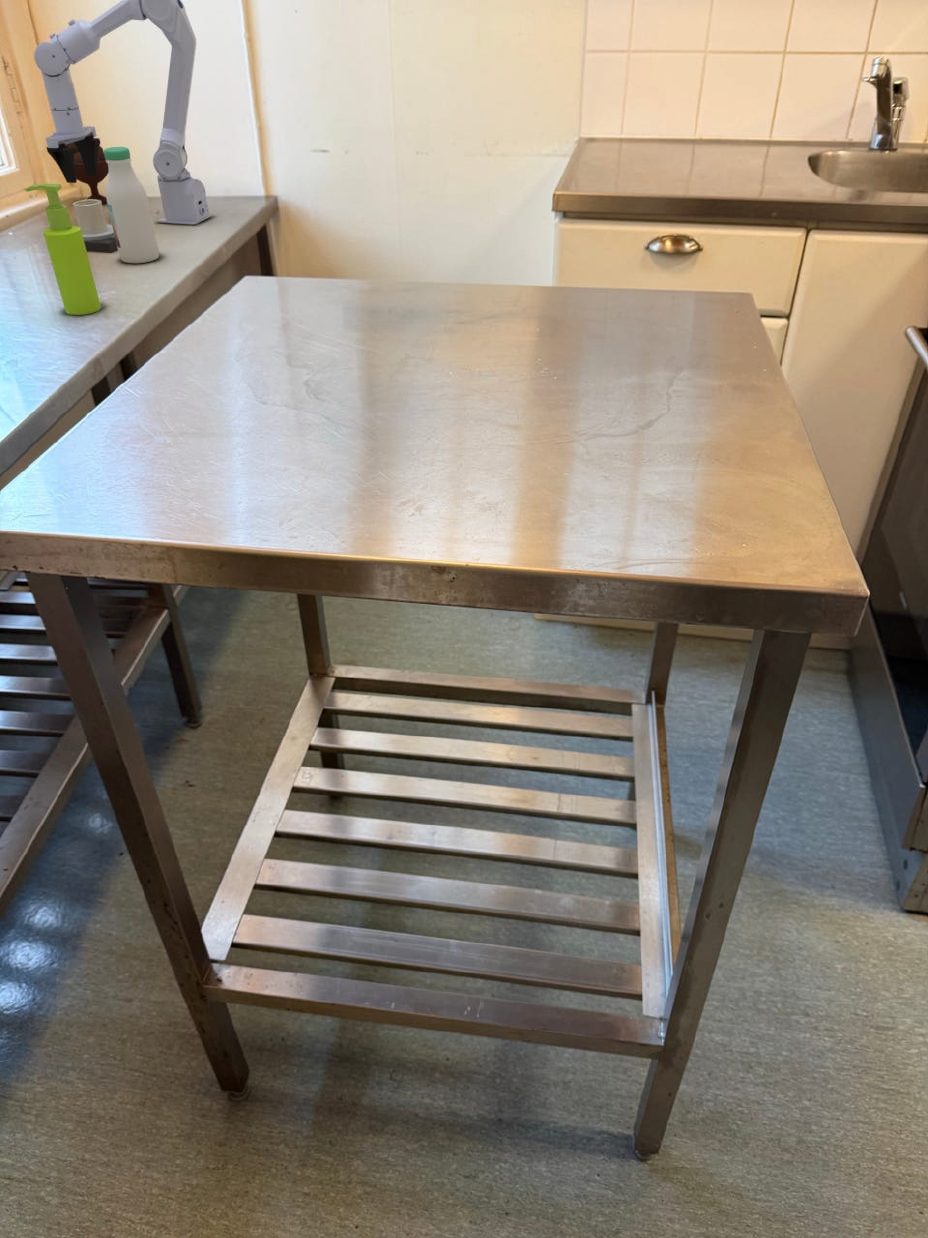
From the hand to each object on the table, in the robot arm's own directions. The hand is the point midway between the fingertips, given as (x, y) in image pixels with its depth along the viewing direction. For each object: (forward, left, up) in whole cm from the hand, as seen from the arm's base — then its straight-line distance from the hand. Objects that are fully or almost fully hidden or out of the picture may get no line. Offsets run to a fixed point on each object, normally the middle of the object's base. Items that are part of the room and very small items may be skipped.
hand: (82, 178), depth 197 cm
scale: (-11, +14, -9) cm, 20 cm away
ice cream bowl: (+12, -19, -10) cm, 24 cm away
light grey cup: (-10, +14, -7) cm, 19 cm away
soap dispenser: (-33, +52, -10) cm, 62 cm away
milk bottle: (-26, +22, -10) cm, 35 cm away
